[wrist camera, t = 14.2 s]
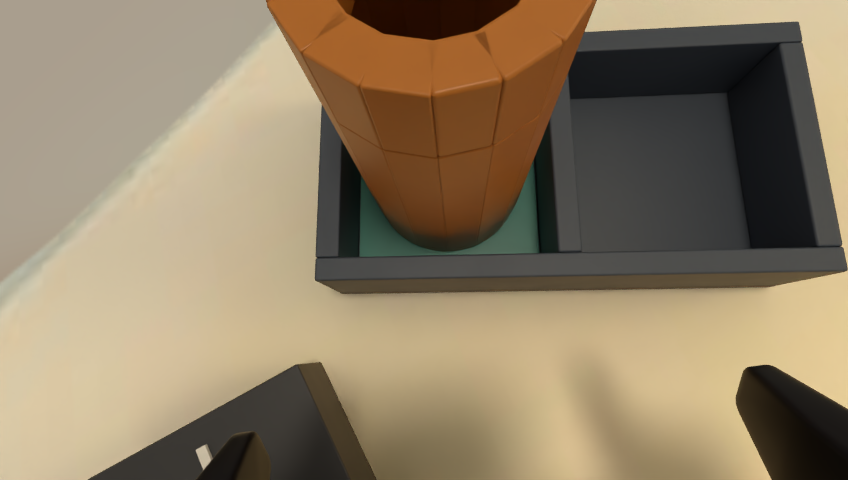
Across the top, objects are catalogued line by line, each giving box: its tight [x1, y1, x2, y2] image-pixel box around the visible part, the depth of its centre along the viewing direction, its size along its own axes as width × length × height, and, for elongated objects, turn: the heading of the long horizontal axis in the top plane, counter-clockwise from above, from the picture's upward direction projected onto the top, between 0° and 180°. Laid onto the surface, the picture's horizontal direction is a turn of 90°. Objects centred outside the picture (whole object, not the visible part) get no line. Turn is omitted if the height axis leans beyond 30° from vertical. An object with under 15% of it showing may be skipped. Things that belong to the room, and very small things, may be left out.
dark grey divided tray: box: [315, 22, 848, 294], centre depth 19 cm, size 9×17×4 cm, turn 90°
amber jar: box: [266, 0, 597, 251], centre depth 14 cm, size 6×6×12 cm
